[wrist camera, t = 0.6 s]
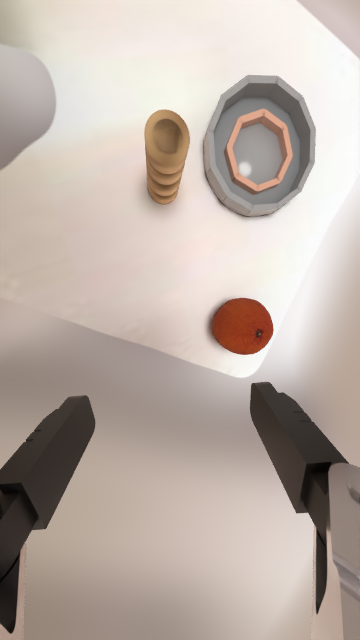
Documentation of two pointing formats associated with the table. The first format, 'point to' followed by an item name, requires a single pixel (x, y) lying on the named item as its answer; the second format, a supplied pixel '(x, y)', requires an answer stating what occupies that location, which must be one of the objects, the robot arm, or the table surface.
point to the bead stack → (165, 154)
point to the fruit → (243, 326)
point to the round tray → (259, 145)
